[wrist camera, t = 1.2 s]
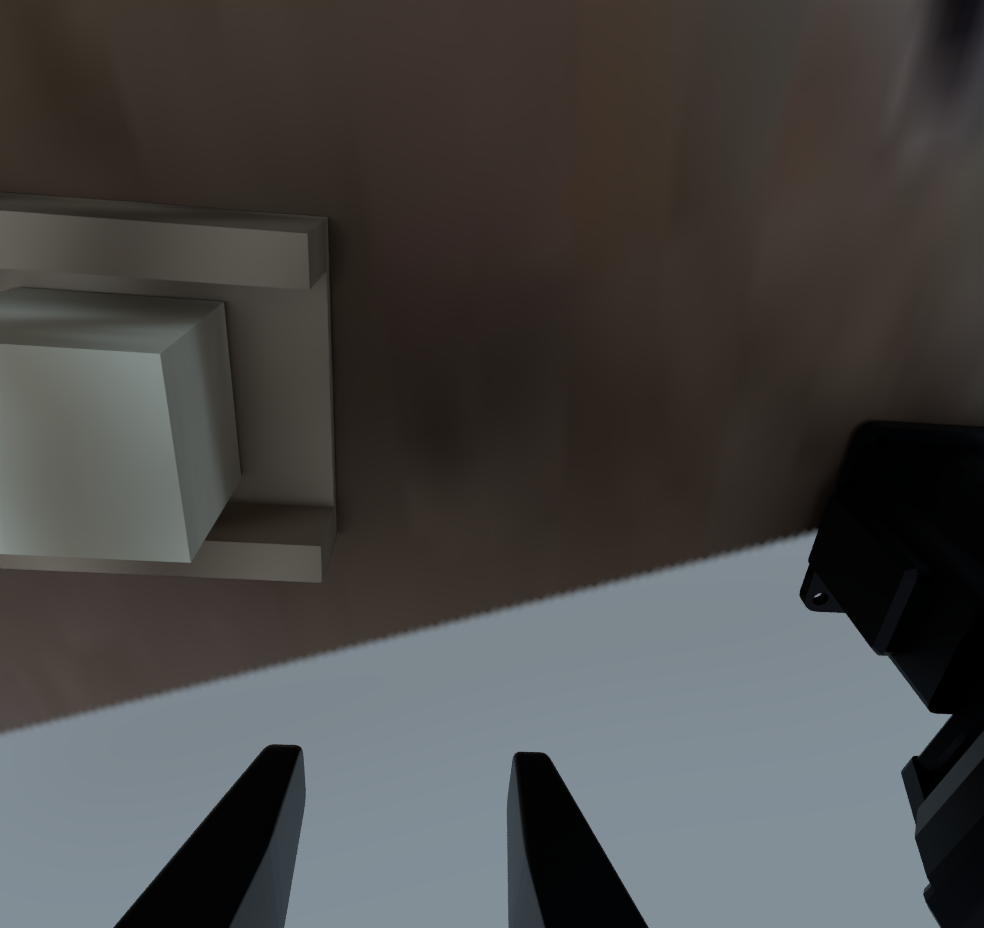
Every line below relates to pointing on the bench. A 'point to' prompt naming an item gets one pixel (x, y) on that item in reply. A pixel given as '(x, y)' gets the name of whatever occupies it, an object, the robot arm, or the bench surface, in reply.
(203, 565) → the chute
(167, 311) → the block
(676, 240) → the bench surface
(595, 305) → the bench surface
